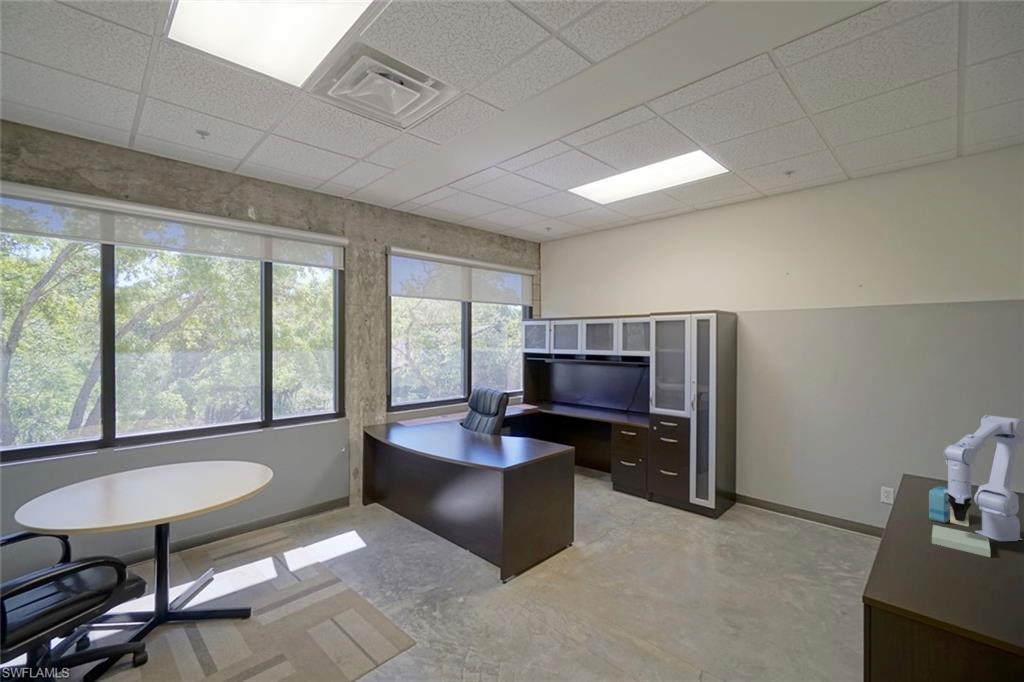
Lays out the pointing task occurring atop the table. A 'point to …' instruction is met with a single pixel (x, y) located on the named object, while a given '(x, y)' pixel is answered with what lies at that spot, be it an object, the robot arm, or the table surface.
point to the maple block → (953, 520)
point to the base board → (961, 540)
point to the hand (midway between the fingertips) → (959, 518)
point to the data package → (939, 505)
